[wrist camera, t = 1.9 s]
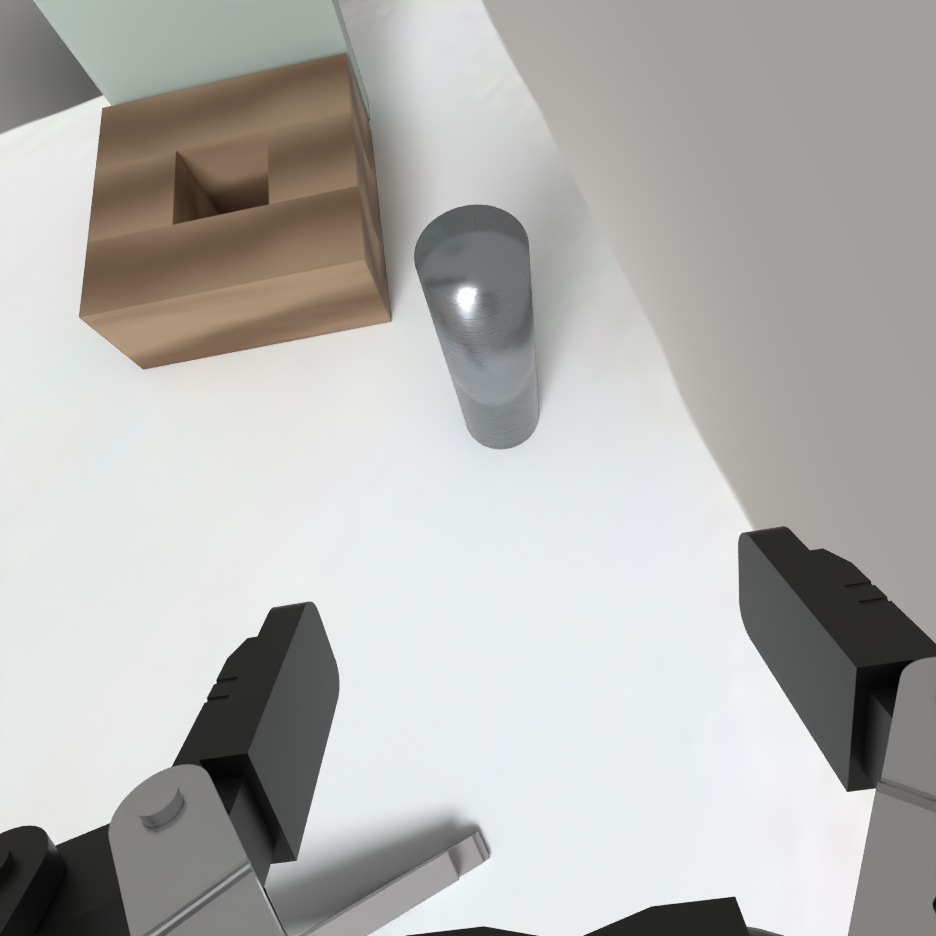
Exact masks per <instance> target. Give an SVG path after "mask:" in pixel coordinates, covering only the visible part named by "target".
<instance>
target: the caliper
mask: <svg viewBox="0 0 936 936" xmlns="http://www.w3.org/2000/svg"><path fill="white" fill-rule="evenodd" d="M489 858H490V856H489V854H488V851H487V849H486V847H485V845H484V842H483V840H482V838H481V836H480V834H479V831H478V832H476V833H474V834H472V835H470V836H469V837H467V838H465V839H464V840H462V841H460V842H459V843H457V844H455V845H454V846H452V847H450V848H449V849H446V850H444V851H442V852H441V853H439V854H437V855H435V856H434V857H432V858H430V859H428V860H427V861H425V862H423V863H421V864H420V865H418V866H416V867H414V868H412V869H411V870H409V871H407V872H406V873H404V874H402V875H401V876H399V877H397V878H396V879H394V880H392V881H391V882H389V883H387V884H386V885H384V886H382V887H381V888H379V889H377V890H375V891H374V892H372V893H370V894H369V895H367V896H365V897H364V898H362V899H360V900H359V901H357V902H355V903H354V904H352V905H350V906H349V907H347V908H345V909H344V910H342V911H340V912H338V913H337V914H335V915H333V916H332V917H330V918H328V919H327V920H325V921H323V922H322V923H320V924H318V925H317V926H315V927H313V928H312V929H310V930H308V931H307V932H305V933H303V934H302V935H300V936H367V935H369V934H371V933H372V932H374V931H376V930H377V929H379V928H380V927H382V926H384V925H385V924H387V923H389V922H390V921H392V920H394V919H395V918H397V917H399V916H400V915H402V914H403V913H405V912H407V911H408V910H410V909H412V908H413V907H415V906H417V905H418V904H420V903H421V902H423V901H425V900H426V899H428V898H430V897H431V896H433V895H435V894H436V893H438V892H439V891H441V890H443V889H444V888H446V887H448V886H449V885H451V884H453V883H454V882H456V881H458V880H459V877H460V876H462V875H464V874H465V873H467V872H469V871H470V870H472V869H474V868H475V867H477V866H478V865H480V864H482V863H483V862H484V861H486V860H487V859H489Z"/></svg>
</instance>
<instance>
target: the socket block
mask: <svg viewBox="0 0 936 936" xmlns="http://www.w3.org/2000/svg"><path fill="white" fill-rule="evenodd" d="M79 318H80V319H82V320H83V321H84V322H85V323H87V324H88V325H89V326H90V327H92V328H93V329H94V330H95V331H96V332H98V333H99V334H100V335H101V336H103V337H104V338H105V339H106V340H108V341H109V342H110V343H111V344H112V345H114V346H115V347H116V348H117V349H119V350H120V351H121V352H122V353H124V354H125V355H126V356H127V357H129V358H130V359H131V360H132V361H133V362H135V363H136V364H137V365H138V366H140V367H141V368H142V369H148V368H153V367H158V366H164V365H169V364H174V363H179V362H184V361H189V360H195V359H200V358H205V357H210V356H215V355H220V354H226V353H231V352H236V351H241V350H246V349H251V348H257V347H262V346H267V345H272V344H277V343H282V342H288V341H293V340H298V339H303V338H308V337H313V336H319V335H324V334H329V333H334V332H339V331H344V330H350V329H355V328H360V327H365V326H370V325H375V324H381V323H386V322H391V315H390V306H389V296H388V287H387V278H386V268H385V259H384V249H383V240H382V230H381V221H380V211H379V202H378V193H377V183H376V174H375V164H374V155H373V145H372V136H371V130H370V127H369V124H368V120H367V117H366V114H365V111H364V108H363V105H362V102H361V99H360V96H359V93H358V89H357V86H356V83H355V80H354V77H353V74H352V71H351V68H350V65H349V62H348V58H347V55H346V53H343V54H338V55H334V56H330V57H325V58H321V59H316V60H312V61H308V62H303V63H299V64H294V65H290V66H286V67H281V68H277V69H272V70H268V71H263V72H259V73H255V74H250V75H246V76H241V77H237V78H233V79H228V80H224V81H219V82H215V83H211V84H206V85H202V86H197V87H193V88H189V89H184V90H180V91H175V92H171V93H167V94H162V95H158V96H153V97H149V98H145V99H140V100H136V101H131V102H127V103H123V104H118V105H114V106H109V107H105V108H102V117H101V126H100V135H99V144H98V153H97V162H96V171H95V180H94V188H93V197H92V206H91V215H90V224H89V233H88V242H87V251H86V260H85V269H84V278H83V287H82V295H81V304H80V313H79Z"/></svg>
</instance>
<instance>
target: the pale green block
mask: <svg viewBox="0 0 936 936" xmlns="http://www.w3.org/2000/svg"><path fill="white" fill-rule="evenodd" d="M33 1H34V2H35V3H36V5H37V6H38V7H39V9H40V10H41V11H42V13H43V14H44V15H45V17H46V18H47V20H48V21H49V22H50V24H51V25H52V26H53V28H54V29H55V30H56V32H57V33H58V34H59V36H60V37H61V38H62V40H63V41H64V42H65V44H66V45H67V46H68V48H69V49H70V50H71V52H72V53H73V54H74V56H75V57H76V58H77V60H78V61H79V63H80V64H81V65H82V67H83V68H84V69H85V71H86V72H87V73H88V75H89V76H90V77H91V78H92V80H93V81H94V82H95V84H96V85H97V87H98V88H99V89H100V91H101V92H102V94H103V95H104V96H105V98H106V99H107V100H108V102H109V103H110V104H111V106H114V105H118V104H123V103H127V102H131V101H136V100H140V99H145V98H149V97H153V96H158V95H162V94H167V93H171V92H175V91H180V90H184V89H189V88H193V87H197V86H202V85H206V84H211V83H215V82H219V81H224V80H228V79H233V78H237V77H241V76H246V75H250V74H255V73H259V72H263V71H268V70H272V69H277V68H281V67H286V66H290V65H294V64H299V63H303V62H308V61H312V60H316V59H321V58H325V57H330V56H334V55H338V54H343V53H346V55H347V58H348V62H349V65H350V68H351V71H352V74H353V77H354V80H355V83H356V86H357V89H358V93H359V96H360V99H361V102H362V105H363V108H364V111H365V114H366V117H367V120H370V117H369V108H368V98H367V94H366V91H365V88H364V84H363V81H362V78H361V75H360V72H359V68H358V65H357V62H356V59H355V55H354V52H353V49H352V46H351V43H350V39H349V36H348V33H347V30H346V27H345V23H344V20H343V17H342V14H341V10H340V7H339V4H338V1H337V0H33Z"/></svg>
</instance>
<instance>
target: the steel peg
mask: <svg viewBox="0 0 936 936" xmlns="http://www.w3.org/2000/svg"><path fill="white" fill-rule="evenodd" d="M414 261H415V267H416V270H417V273H418V276H419V279H420V282H421V285H422V288H423V292H424V295H425V298H426V301H427V304H428V307H429V310H430V313H431V316H432V319H433V323H434V326H435V329H436V332H437V335H438V338H439V341H440V344H441V347H442V351H443V354H444V357H445V360H446V363H447V366H448V369H449V372H450V375H451V378H452V382H453V385H454V388H455V391H456V394H457V397H458V400H459V403H460V406H461V410H462V413H463V416H464V419H465V422H466V425H467V428H468V430H469V432H470V434H471V435H472V437H473V438H474V439H475V440H476V441H478V442H479V443H480V444H482V445H484V446H486V447H489V448H493V449H508V448H512V447H515V446H518V445H520V444H521V443H523V442H524V441H526V440H527V439H528V438H529V437H530V436H531V435H532V433H533V432H534V430H535V428H536V426H537V424H538V419H539V408H538V391H537V374H536V358H535V341H534V324H533V308H532V291H531V274H530V258H529V242H528V237H527V234H526V232H525V229H524V228H523V226H522V225H521V223H520V222H519V221H518V220H517V219H516V218H515V217H514V216H512V215H511V214H509V213H508V212H506V211H504V210H502V209H499V208H496V207H493V206H488V205H468V206H462V207H458V208H455V209H452V210H450V211H448V212H445V213H444V214H442V215H440V216H438V217H437V218H436V219H434V220H433V221H432V222H431V223H430V224H429V225H428V226H427V227H426V228H425V229H424V231H423V232H422V234H421V235H420V237H419V239H418V241H417V244H416V247H415V253H414Z"/></svg>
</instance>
